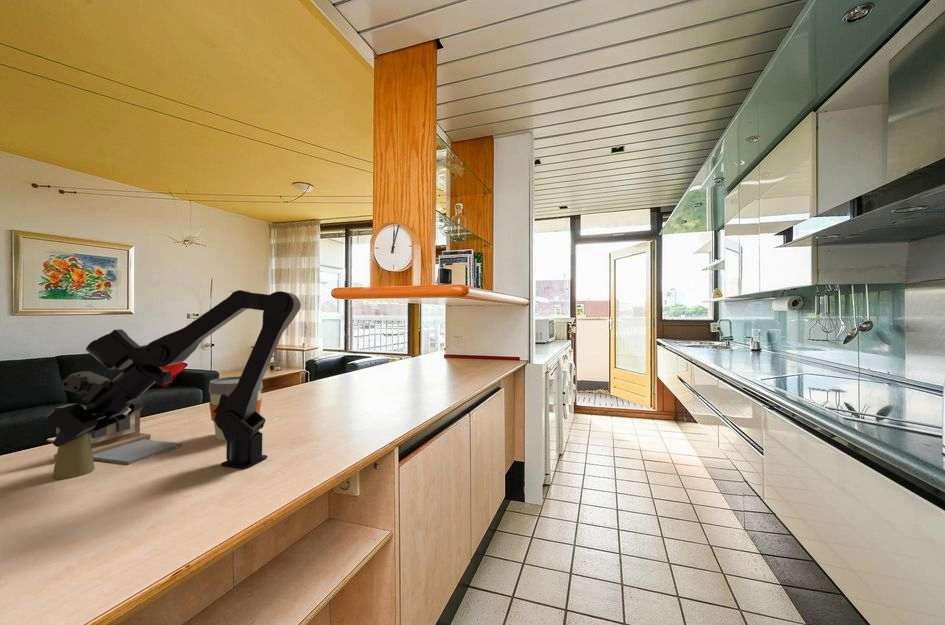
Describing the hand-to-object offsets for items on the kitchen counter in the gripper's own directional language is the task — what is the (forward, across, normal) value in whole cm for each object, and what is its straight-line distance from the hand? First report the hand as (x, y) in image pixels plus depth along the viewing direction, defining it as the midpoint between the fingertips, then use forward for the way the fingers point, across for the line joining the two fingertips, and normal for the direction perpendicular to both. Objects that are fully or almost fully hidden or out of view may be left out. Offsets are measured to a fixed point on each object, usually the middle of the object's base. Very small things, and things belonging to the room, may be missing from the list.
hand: (66, 440), depth 77 cm
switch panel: (+6, -15, +3) cm, 16 cm away
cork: (+4, 0, +6) cm, 7 cm away
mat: (0, -11, +9) cm, 14 cm away
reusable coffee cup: (-12, -21, +22) cm, 32 cm away
